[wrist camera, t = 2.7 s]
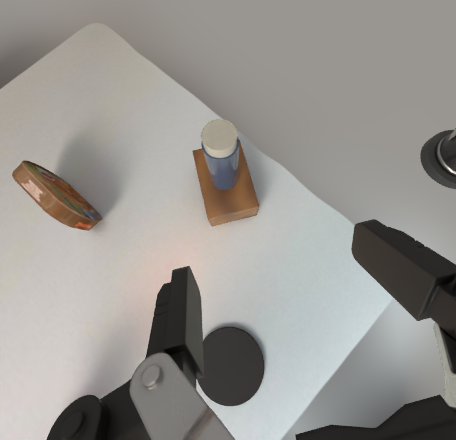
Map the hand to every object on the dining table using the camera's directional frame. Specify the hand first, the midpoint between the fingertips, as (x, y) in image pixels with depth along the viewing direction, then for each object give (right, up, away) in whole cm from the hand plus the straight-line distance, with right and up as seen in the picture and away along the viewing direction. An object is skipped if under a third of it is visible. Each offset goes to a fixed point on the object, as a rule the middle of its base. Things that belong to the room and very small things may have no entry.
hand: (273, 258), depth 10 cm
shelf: (-3, +7, +28) cm, 29 cm away
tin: (-30, +5, +29) cm, 41 cm away
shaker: (-3, +9, +23) cm, 25 cm away
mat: (-2, -19, +21) cm, 29 cm away
